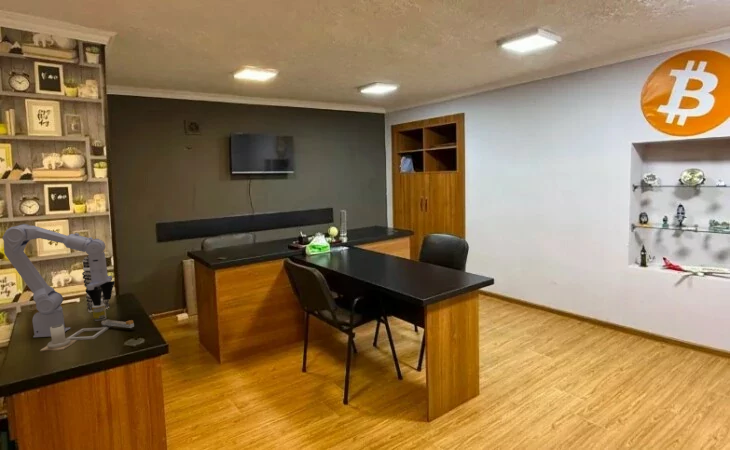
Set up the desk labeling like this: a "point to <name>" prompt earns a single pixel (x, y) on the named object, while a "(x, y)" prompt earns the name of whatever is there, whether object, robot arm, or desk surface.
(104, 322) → the clip
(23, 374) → the desk surface
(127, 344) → the desk surface
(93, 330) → the socket
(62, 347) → the coaster
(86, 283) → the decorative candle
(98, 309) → the supplement bottle
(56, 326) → the plug
